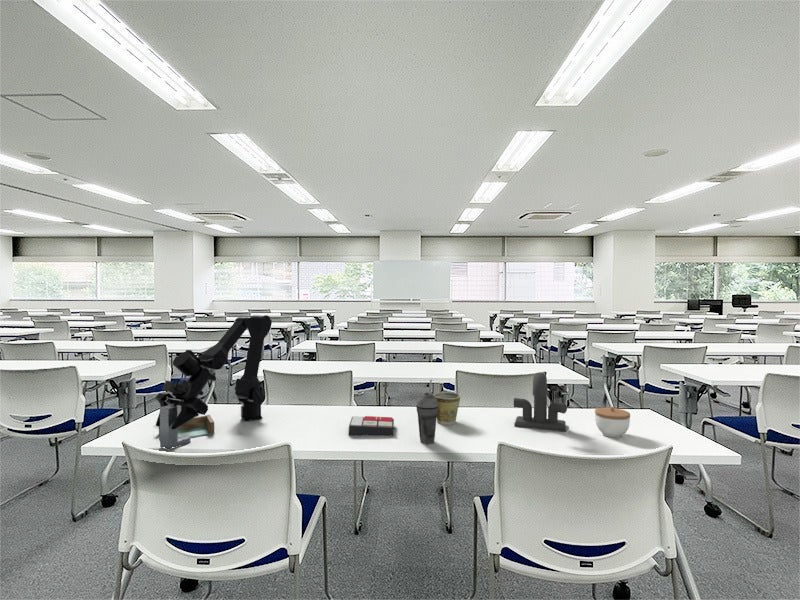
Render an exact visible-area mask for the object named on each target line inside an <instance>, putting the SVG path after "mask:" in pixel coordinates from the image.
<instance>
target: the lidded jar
mask: <svg viewBox="0 0 800 600" xmlns="http://www.w3.org/2000/svg"><path fill="white" fill-rule="evenodd" d="M594 417H595V419H594V421H595V425H596V427H597V429H598V430H599V431H600V432H601V434H602V435H603V436H605V437H609V438H617V439H618V438H622V437H623V435H625V434H626V433H627V431H628V430H629V428H630V422H631V413H630V412H629V411H627V410H624V409H621V408H615V407H614V406H610V407H598V408H595V409H594Z"/></svg>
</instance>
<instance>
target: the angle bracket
mask: <svg viewBox="0 0 800 600" xmlns="http://www.w3.org/2000/svg"><path fill="white" fill-rule="evenodd" d="M159 413H160V437H159V443H160V447H165V448H167V449H170V450H172V449H171V448H172V447H176V446H178V447H180V446H179V445H181V446H183V445H186V444H190V443H191V438H190V437H186V436H179V437H178V430H177V428H176V429H174V430H173V429H171V427H172V425H173V423H174V421H175V420H176V418H177V407H175V406H170V405H168V406H164V407H161V406H160V407H159ZM176 448H177V447H176ZM167 449H166V450H167Z"/></svg>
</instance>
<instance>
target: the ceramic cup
mask: <svg viewBox="0 0 800 600" xmlns="http://www.w3.org/2000/svg"><path fill="white" fill-rule="evenodd" d="M432 395H434V396H435V397H436V399H437V401H438V406H439V407H438V412H437V418H436V423H438V424H440V425H442V424H443V425H444V426H451V425H455V423H456V422H457V416H458V412H459V411H458V410H459V407H460V401H461V395H460V394H459V393H456V392H452V391H448V392H447V391H442V392H436V393H432ZM450 424H451V425H450Z"/></svg>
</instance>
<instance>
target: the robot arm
mask: <svg viewBox="0 0 800 600" xmlns="http://www.w3.org/2000/svg"><path fill="white" fill-rule="evenodd" d="M272 323H273V321H272V319H271V317H270V316H269V315H267V314H265V315H264V314H261V315H260V314H253V315H251V316H250V317H249V316H239V317H237V318H235V321H234V322H233V324H232V325H231V326H230V327H229V328H228V330H227V331H225V333H224V334H223V336H222V337H221V338H220V339H219V340H218V342H217V343H215V344H214V345H213V346H210V347H209V348H207V349H206V350H205V351H204V352H203V353H201V355H200V356H198V355H196V354H195V353H194V351H192V350H191V349H186V350H185V351H184V352H182V353H180V354H178V355H177V356H175V357H174V359H173V360H172V365H173V367H175V369H177V370H178V371H179V372H180V373H181V374H182V375H183V376H185V377H188V380H187V381H186V380H181V379H180V380H179V381H172V380H165V382H164V384H163V387H162V389H161V391H163V392H158V394H156V396H155V397H154V399H155V400H156V401H157V402H158V403H159V405H160V407H164V406H168V405H170V406H175V407H177V405H179V406H181V412H180V413H179V415H178V417H177V418H176V420H175V421H174V423H173V425H172V427H171V429H173V430H174V429H176V428H178V427H179V426H181V425H182V424H184V423H185V422H187V421H189V420H190V419H192V418H194V417H198V416H200V415H201V416H205V415H206V414H207V412H208V411H209V405H208V404H206V403H205V402H204V401H203V400H202V399H201V398H200V397H199V396H203V395H204V391H203V390H204V388H205V387H206V386H207V384H208V382H209V381H214V382H215V381H217V376H216V373H215V372H213V371H212V372H211V371H210V370H215V371H216V370H217V371H218V370H221V369H222V368H224V366H225V364H226V363H227V360H228V359H229V358H228V357H229V353H230V351H231V350H232V348H233V347H234V346H235V344H236V343H237V342H238V341H239V340H240V338H241V337H242V336H243V334H244V333H245V332H246V331H248V335H249V337H250V339H249V344H248V348H247V349H248V350H247V355H246V361H245V364H244V365H245V366H244V370H243V375H241V377H240V378H236V380H235V387H234V392H235V396H236V398H237V400H238V402H239V403H241V406H240V418H241V419H242V420H243V421H244V422H248V421H254V420H261V419H263V416H262V403H264V402H265V399H266V395H265V394H264V393H263V392H262V391H261V390H260V387H261V384H260V381H259V380H260V379H259V377H258V373H259V368H260V363H261V358H262V351H263V346H264V340H265V338H266V337H267V336H268V334H269V333H270V330H271V328H272V325H273V324H272ZM168 392H172V395H173V396H175V398H174V397H173V396H172V395H170V394H169V393H168ZM197 397H198V398H197ZM155 426H157V427H159V426H160V412H159V413H158V417H157V419H156V422H155Z"/></svg>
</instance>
